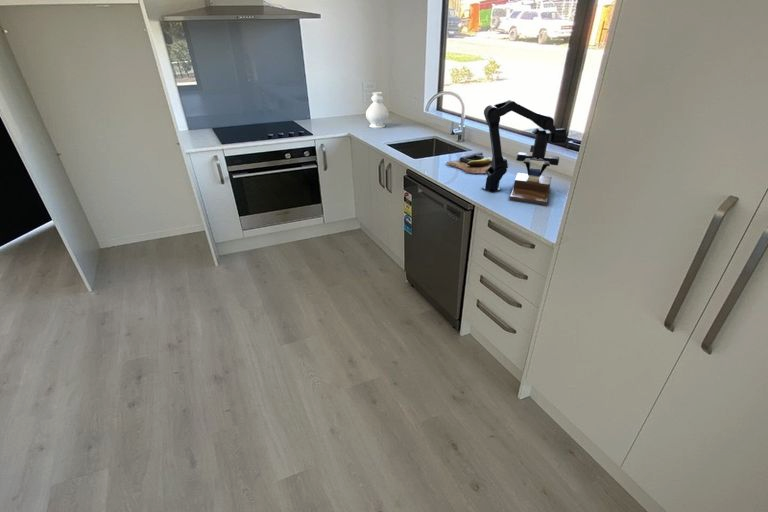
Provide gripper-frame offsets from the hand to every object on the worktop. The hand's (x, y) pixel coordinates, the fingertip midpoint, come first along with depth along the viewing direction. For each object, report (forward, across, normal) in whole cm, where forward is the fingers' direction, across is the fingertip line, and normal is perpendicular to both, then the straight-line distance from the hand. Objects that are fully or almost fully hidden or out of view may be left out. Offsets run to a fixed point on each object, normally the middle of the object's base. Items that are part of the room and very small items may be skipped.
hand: (534, 176), depth 191 cm
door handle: (+7, +33, -35) cm, 49 cm away
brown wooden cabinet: (+7, 0, +7) cm, 10 cm away
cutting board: (+5, +31, -29) cm, 43 cm away
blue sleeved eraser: (+1, 0, +1) cm, 1 cm away
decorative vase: (+7, +126, -98) cm, 160 cm away
